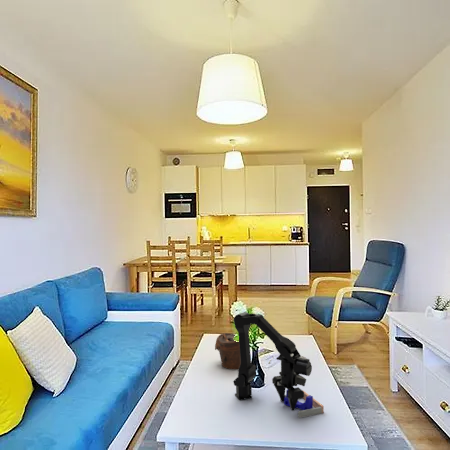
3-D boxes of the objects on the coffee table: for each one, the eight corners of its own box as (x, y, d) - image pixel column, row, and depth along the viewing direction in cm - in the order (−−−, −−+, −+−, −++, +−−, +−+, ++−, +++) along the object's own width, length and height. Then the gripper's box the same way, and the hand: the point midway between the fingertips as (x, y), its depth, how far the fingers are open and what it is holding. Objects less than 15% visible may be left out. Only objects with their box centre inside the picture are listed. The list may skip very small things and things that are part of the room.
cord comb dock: (299, 417, 170) (299, 410, 170) (280, 400, 186) (280, 394, 186) (323, 412, 174) (323, 405, 174) (302, 396, 190) (302, 390, 190)
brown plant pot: (217, 358, 242) (216, 329, 242) (250, 359, 240) (250, 330, 240) (213, 370, 225) (212, 338, 224) (249, 371, 223) (248, 339, 222)
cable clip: (284, 404, 182) (284, 390, 182) (289, 401, 185) (290, 388, 186) (306, 413, 174) (307, 398, 174) (312, 410, 177) (312, 396, 177)
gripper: (315, 375, 172) (315, 412, 172) (293, 361, 189) (293, 394, 190) (291, 379, 168) (292, 416, 168) (271, 364, 185) (271, 398, 186)
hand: (287, 405), depth 178 cm, fingers open, 9 cm apart
